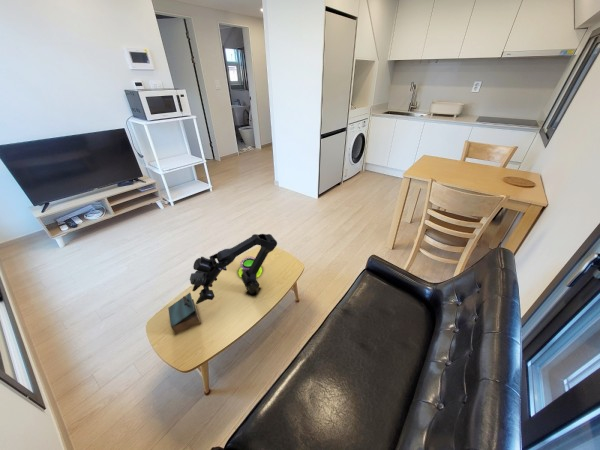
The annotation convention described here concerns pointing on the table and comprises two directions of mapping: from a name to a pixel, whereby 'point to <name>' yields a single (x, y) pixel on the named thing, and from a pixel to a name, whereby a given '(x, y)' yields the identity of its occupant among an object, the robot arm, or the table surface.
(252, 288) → the robot arm
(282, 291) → the table surface
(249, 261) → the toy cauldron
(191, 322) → the box
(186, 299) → the lid
